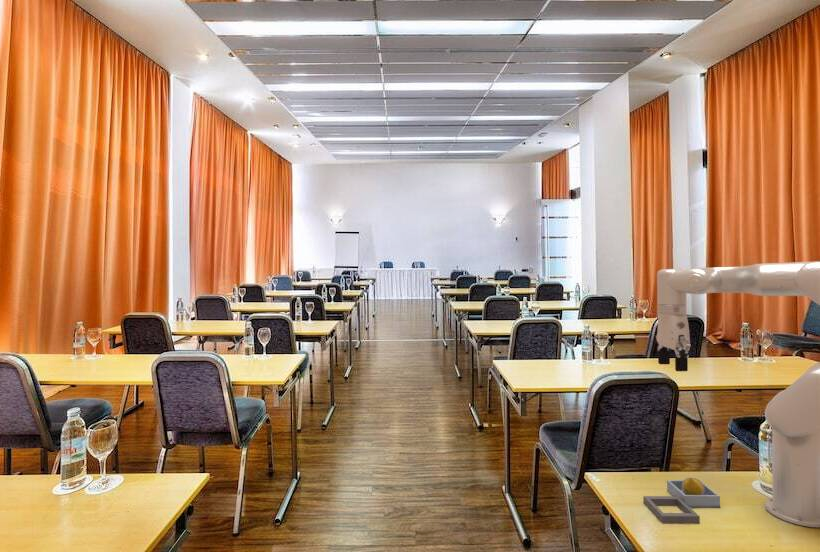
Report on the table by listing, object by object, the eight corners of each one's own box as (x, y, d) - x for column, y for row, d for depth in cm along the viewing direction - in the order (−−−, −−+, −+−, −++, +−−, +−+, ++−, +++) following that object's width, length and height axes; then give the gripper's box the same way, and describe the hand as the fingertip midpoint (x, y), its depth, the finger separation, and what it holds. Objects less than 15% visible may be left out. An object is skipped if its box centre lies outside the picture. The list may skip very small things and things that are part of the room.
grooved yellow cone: (710, 499, 124) (707, 484, 118) (690, 505, 125) (686, 491, 119) (697, 480, 128) (694, 465, 122) (678, 486, 129) (674, 472, 123)
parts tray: (699, 491, 128) (699, 480, 128) (720, 507, 119) (719, 496, 119) (667, 491, 129) (666, 480, 129) (684, 507, 120) (684, 496, 120)
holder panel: (677, 502, 122) (677, 496, 122) (699, 523, 112) (699, 516, 112) (643, 502, 123) (643, 496, 123) (662, 523, 113) (662, 516, 113)
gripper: (701, 312, 127) (702, 374, 127) (669, 307, 144) (670, 361, 145) (674, 313, 127) (675, 374, 128) (645, 308, 145) (645, 361, 145)
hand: (672, 367), depth 136 cm, fingers open, 9 cm apart
